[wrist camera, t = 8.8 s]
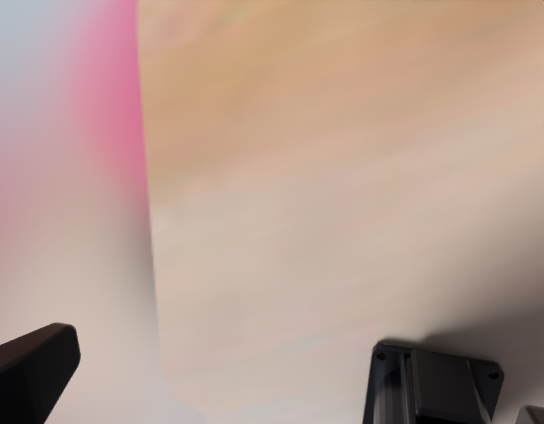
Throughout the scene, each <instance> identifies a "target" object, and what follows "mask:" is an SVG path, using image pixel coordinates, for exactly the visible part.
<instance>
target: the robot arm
mask: <svg viewBox="0 0 544 424" xmlns="http://www.w3.org/2000/svg"><path fill="white" fill-rule="evenodd" d="M379 353H384V354H385V355H383V356H381V355H378V354H379ZM80 357H81V353H80V348H79V342H78V337H77V332H76V329H75V327H74V326H72V325H70V324H64V323H53V324H50V325H47V326H45V327H43V328H40V329H38V330H35V331H33V332H30V333H28V334H26V335H23V336H21V337H18V338H16V339H14V340H11V341H9V342H7V343H4V344H1V345H0V424H44V423H45V421H46V420H47V418H48V416H49V415H50V413H51V411H52V410H53V408H54V406H55V404H56V403H57V401H58V399H59V397H60V396H61V394H62V393H63V391H64V389H65V387H66V386H67V384H68V382H69V381H70V379H71V377H72V376H73V374H74V372H75V371H76V369H77V367H78V365H79V362H80ZM491 371H495V372H496V373H494V374H490V373H489V372H491ZM503 380H504V372H503V369H502V367H501V365H499V364H498V363H495V362H491V361H484V360H478V359H472V358H466V357H460V356H453V355H447V354H441V353H435V352H428V351H422V350H416V349H409V348H403V347H397V346H391V345H384V344H378V345H375V346H374V347H373V349H372V355H371V362H370V369H369V377H368V384H367V391H366V399H365V406H364V413H363V421H362V424H491V421H492V418H493V414H494V411H495V407H496V404H497V400H498V397H499V394H500V390H501V387H502V383H503ZM515 424H544V407H538V406H533V405H523V406H522V407H521V409H520V411H519V414H518V417H517V420H516V423H515Z"/></svg>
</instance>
